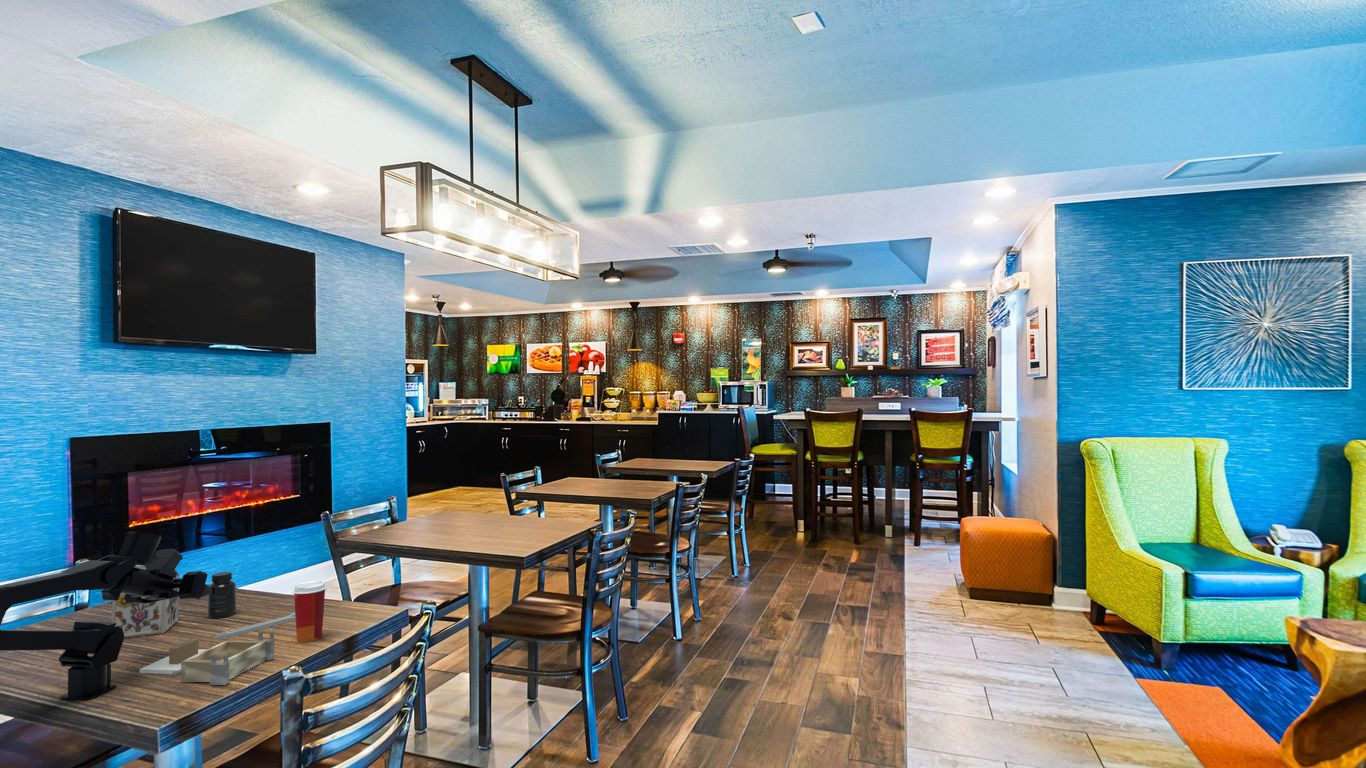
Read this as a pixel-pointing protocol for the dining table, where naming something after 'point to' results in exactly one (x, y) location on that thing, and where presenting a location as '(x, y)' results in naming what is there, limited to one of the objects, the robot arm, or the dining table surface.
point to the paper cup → (309, 610)
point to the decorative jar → (145, 615)
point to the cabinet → (227, 660)
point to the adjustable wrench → (255, 627)
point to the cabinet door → (174, 659)
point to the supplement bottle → (222, 596)
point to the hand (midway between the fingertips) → (194, 593)
